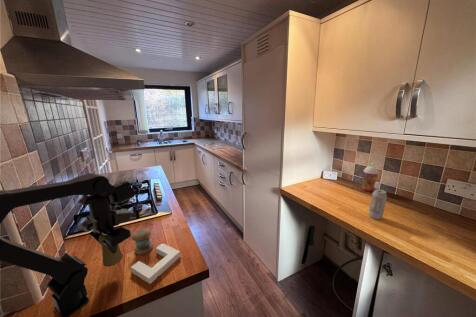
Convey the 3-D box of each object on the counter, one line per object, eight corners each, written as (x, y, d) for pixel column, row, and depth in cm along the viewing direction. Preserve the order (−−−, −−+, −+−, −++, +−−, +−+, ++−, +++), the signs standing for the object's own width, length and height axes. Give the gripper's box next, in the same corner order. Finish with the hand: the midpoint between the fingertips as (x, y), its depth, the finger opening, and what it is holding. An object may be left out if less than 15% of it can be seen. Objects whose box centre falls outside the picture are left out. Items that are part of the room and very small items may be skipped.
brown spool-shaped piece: (141, 257, 77) (139, 241, 75) (131, 250, 80) (128, 235, 78) (156, 246, 83) (154, 231, 81) (145, 240, 86) (143, 226, 84)
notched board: (150, 284, 65) (149, 278, 65) (131, 272, 70) (130, 267, 69) (180, 256, 77) (179, 251, 76) (163, 248, 82) (162, 243, 81)
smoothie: (357, 188, 136) (361, 161, 131) (366, 186, 138) (371, 160, 133) (368, 193, 128) (373, 164, 123) (377, 191, 131) (383, 163, 125)
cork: (119, 250, 73) (113, 225, 70) (125, 258, 69) (120, 232, 66) (100, 260, 68) (93, 234, 65) (106, 269, 64) (99, 242, 61)
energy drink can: (384, 219, 100) (390, 192, 96) (376, 221, 98) (381, 194, 94) (373, 213, 105) (379, 188, 101) (365, 215, 104) (370, 189, 100)
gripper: (141, 206, 65) (148, 244, 70) (110, 194, 74) (118, 229, 78) (107, 223, 56) (117, 266, 60) (76, 208, 65) (87, 246, 69)
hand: (110, 250), depth 67 cm, fingers closed on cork, 4 cm apart
